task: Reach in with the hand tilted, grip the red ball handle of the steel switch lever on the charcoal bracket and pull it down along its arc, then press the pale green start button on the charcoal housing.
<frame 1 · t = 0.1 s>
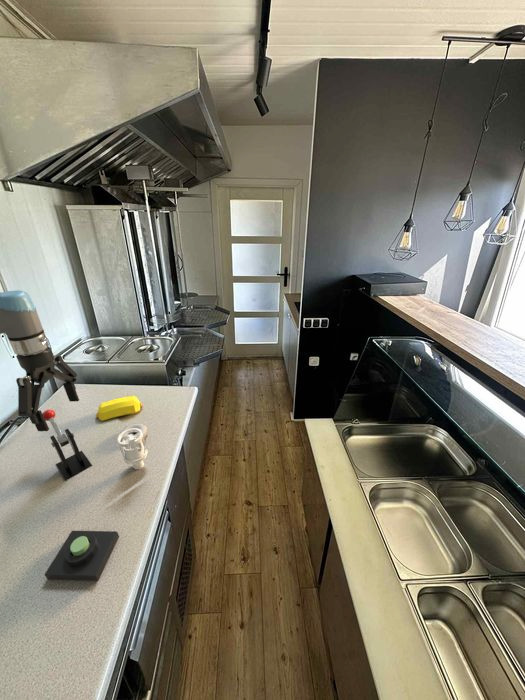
hand: (60, 414, 85), 22 cm above the countertop, tool pointing down, fingers open, 13 cm apart
bracket: (75, 467, 95), on the countertop
white tall carved piece: (139, 468, 94), on the countertop
lever: (55, 426, 92), point 14 cm above the countertop, hinge at 25.0°
donut: (134, 437, 107), on the countertop
yellow bar: (121, 414, 120), on the countertop
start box: (85, 556, 70), on the countertop
button: (80, 546, 68), point 4 cm above the countertop, slide at 0.1 cm
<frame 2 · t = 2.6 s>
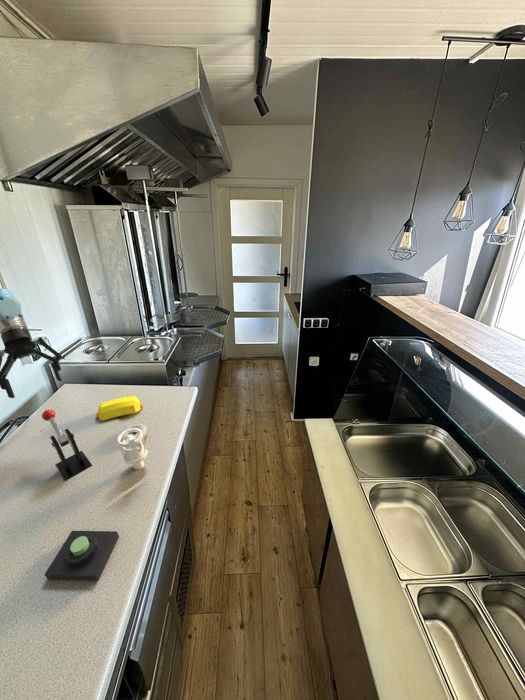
hand: (36, 388, 95), 24 cm above the countertop, tool tilted 40°, fingers open, 13 cm apart
nothing on the countertop moved.
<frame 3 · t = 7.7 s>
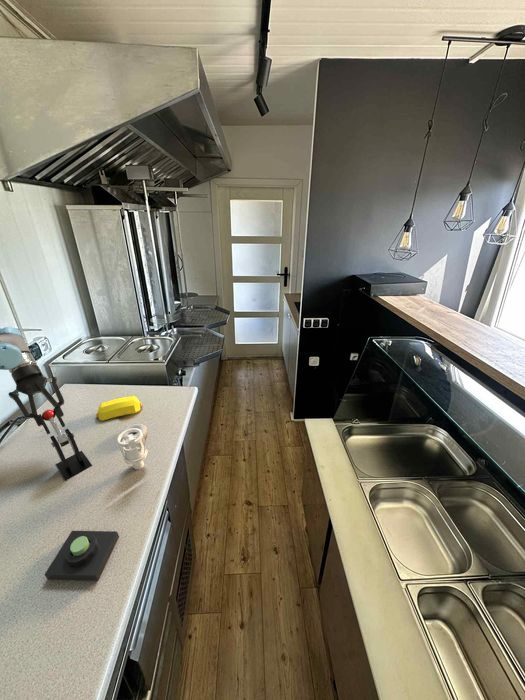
hand: (56, 429, 93), 13 cm above the countertop, tool tilted 45°, fingers closed on lever, 4 cm apart
lever: (55, 426, 92), point 14 cm above the countertop, hinge at 25.0°, touching gripper
everything else where it was.
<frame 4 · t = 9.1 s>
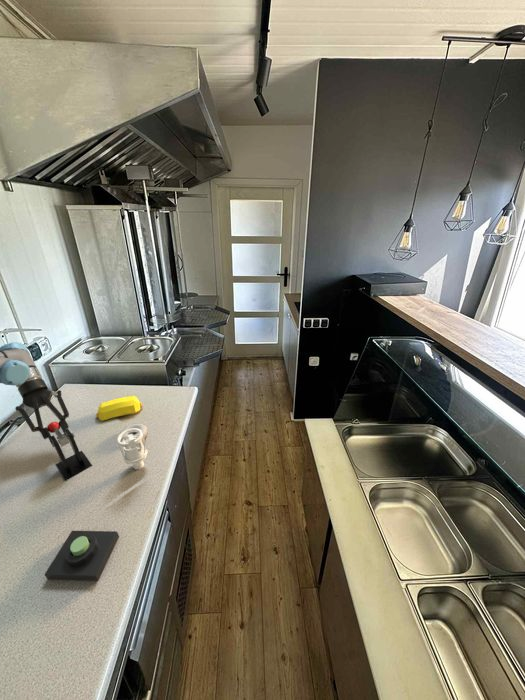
hand: (61, 441, 96), 7 cm above the countertop, tool tilted 45°, fingers closed on lever, 4 cm apart
lever: (58, 433, 94), point 11 cm above the countertop, hinge at -5.2°, touching gripper
everything else where it was.
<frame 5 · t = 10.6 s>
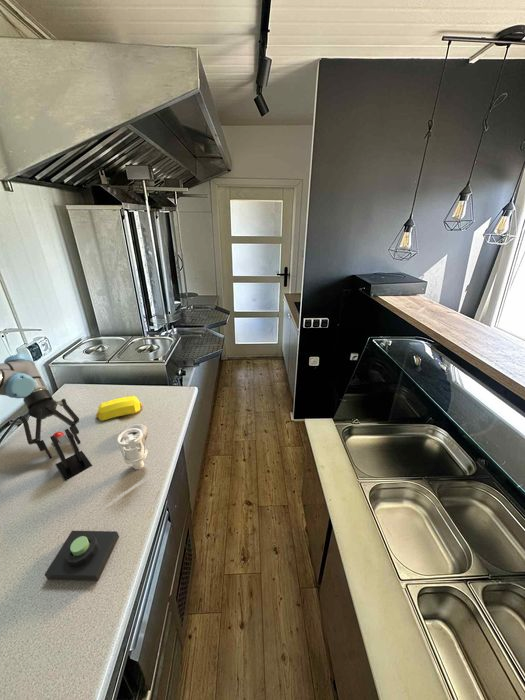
hand: (65, 450, 98), 3 cm above the countertop, tool tilted 45°, fingers open, 8 cm apart
lever: (60, 438, 94), point 10 cm above the countertop, hinge at -25.8°
everything else where it was.
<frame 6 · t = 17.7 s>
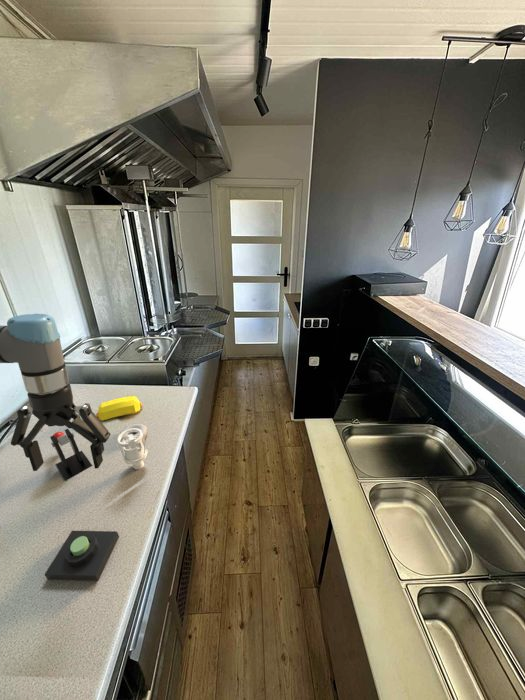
hand: (69, 465, 68), 22 cm above the countertop, tool pointing down, fingers open, 13 cm apart
nothing on the countertop moved.
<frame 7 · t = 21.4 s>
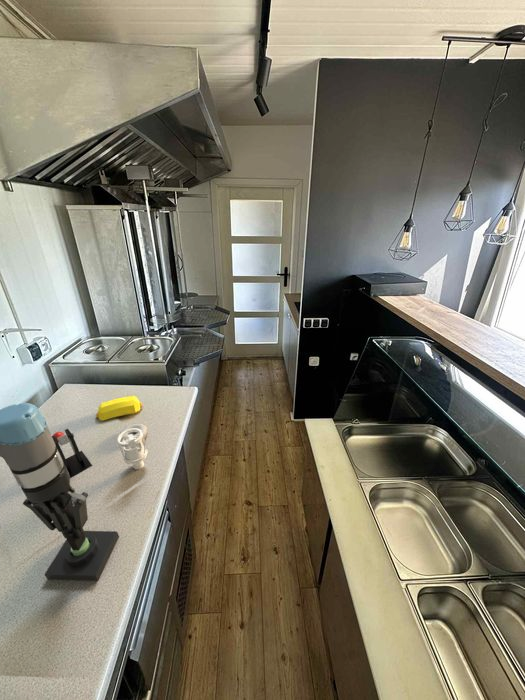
hand: (79, 544, 68), 5 cm above the countertop, tool pointing down, fingers closed
button: (80, 546, 68), point 4 cm above the countertop, slide at -0.2 cm, touching gripper
everything else where it was.
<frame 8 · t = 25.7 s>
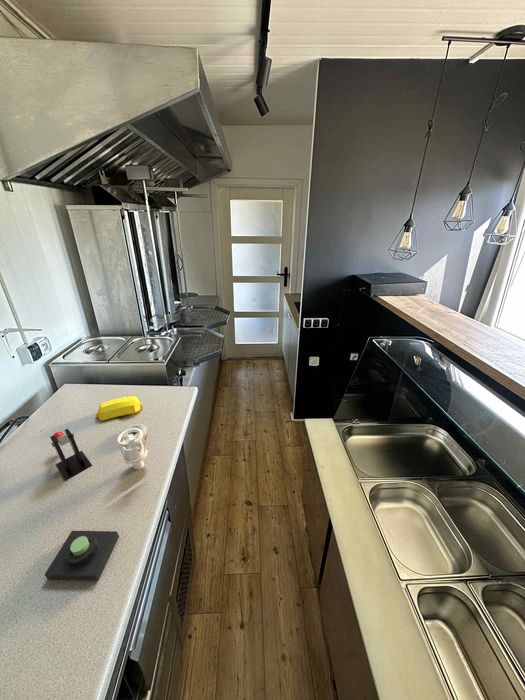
button: (80, 546, 68), point 4 cm above the countertop, slide at 0.1 cm
everything else where it was.
at the end: lever at -26° (first picture: +25°); button pushed in 1.0 cm at the most during the clip, back to where it started at the end; button slide at 0.1 cm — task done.
